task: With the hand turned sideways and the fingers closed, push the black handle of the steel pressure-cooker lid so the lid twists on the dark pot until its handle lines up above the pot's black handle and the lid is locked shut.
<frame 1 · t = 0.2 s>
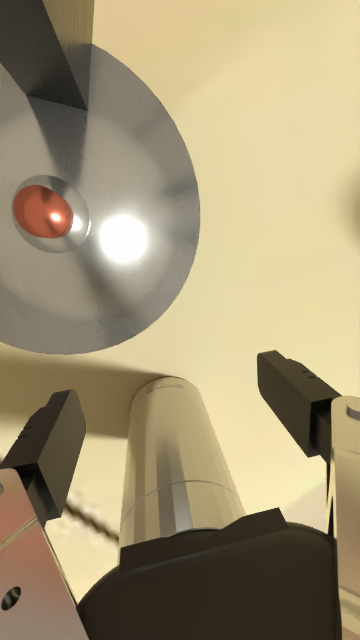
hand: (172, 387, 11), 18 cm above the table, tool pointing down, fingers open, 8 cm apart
lid: (33, 141, 11), point 14 cm above the table, hinge at -35.0°
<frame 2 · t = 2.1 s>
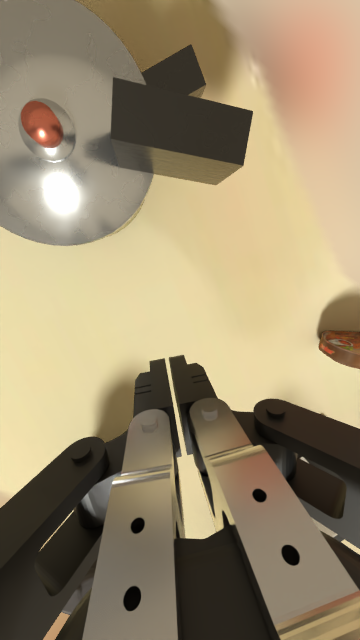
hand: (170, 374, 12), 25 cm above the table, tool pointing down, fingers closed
pot: (82, 169, 30), on the table
laptop: (305, 496, 56), on the table
tin: (345, 339, 43), on the table
coffee jar: (110, 467, 45), on the table
lid: (77, 125, 17), point 14 cm above the table, hinge at -35.0°
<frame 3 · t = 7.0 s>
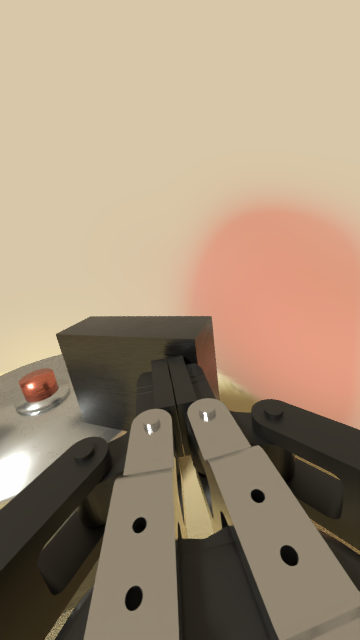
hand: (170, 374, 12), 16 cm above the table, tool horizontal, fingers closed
pot: (81, 495, 23), on the table
lid: (59, 370, 18), point 14 cm above the table, hinge at -34.7°, touching gripper
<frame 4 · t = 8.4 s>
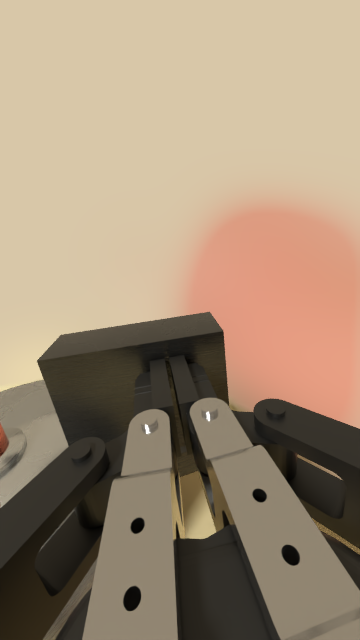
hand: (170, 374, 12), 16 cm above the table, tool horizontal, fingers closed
pot: (47, 572, 18), on the table
lid: (19, 413, 13), point 14 cm above the table, hinge at -10.0°, touching gripper
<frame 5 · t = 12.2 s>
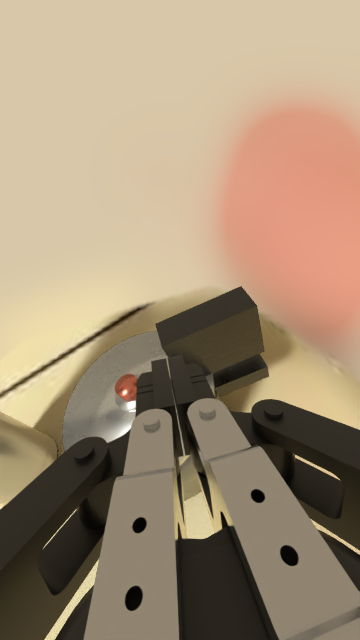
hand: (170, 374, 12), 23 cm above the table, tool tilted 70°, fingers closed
pot: (171, 431, 34), on the table
lid: (147, 369, 24), point 14 cm above the table, hinge at 0.7°
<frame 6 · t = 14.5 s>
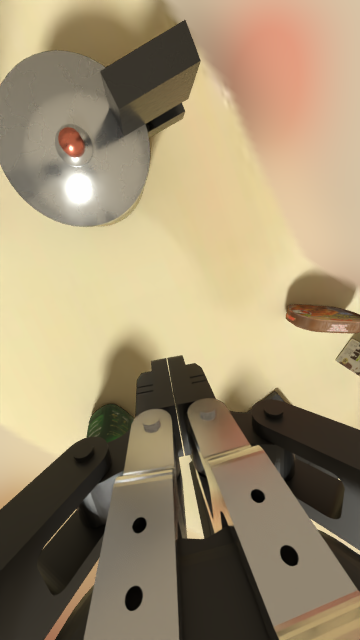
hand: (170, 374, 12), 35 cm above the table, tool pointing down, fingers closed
pot: (93, 171, 38), on the table
laptop: (269, 462, 65), on the table
coffee box: (355, 356, 58), on the table
tin: (310, 312, 52), on the table
coffee jar: (114, 420, 54), on the table
lid: (90, 124, 25), point 14 cm above the table, hinge at 0.7°
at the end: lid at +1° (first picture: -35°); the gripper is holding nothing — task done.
